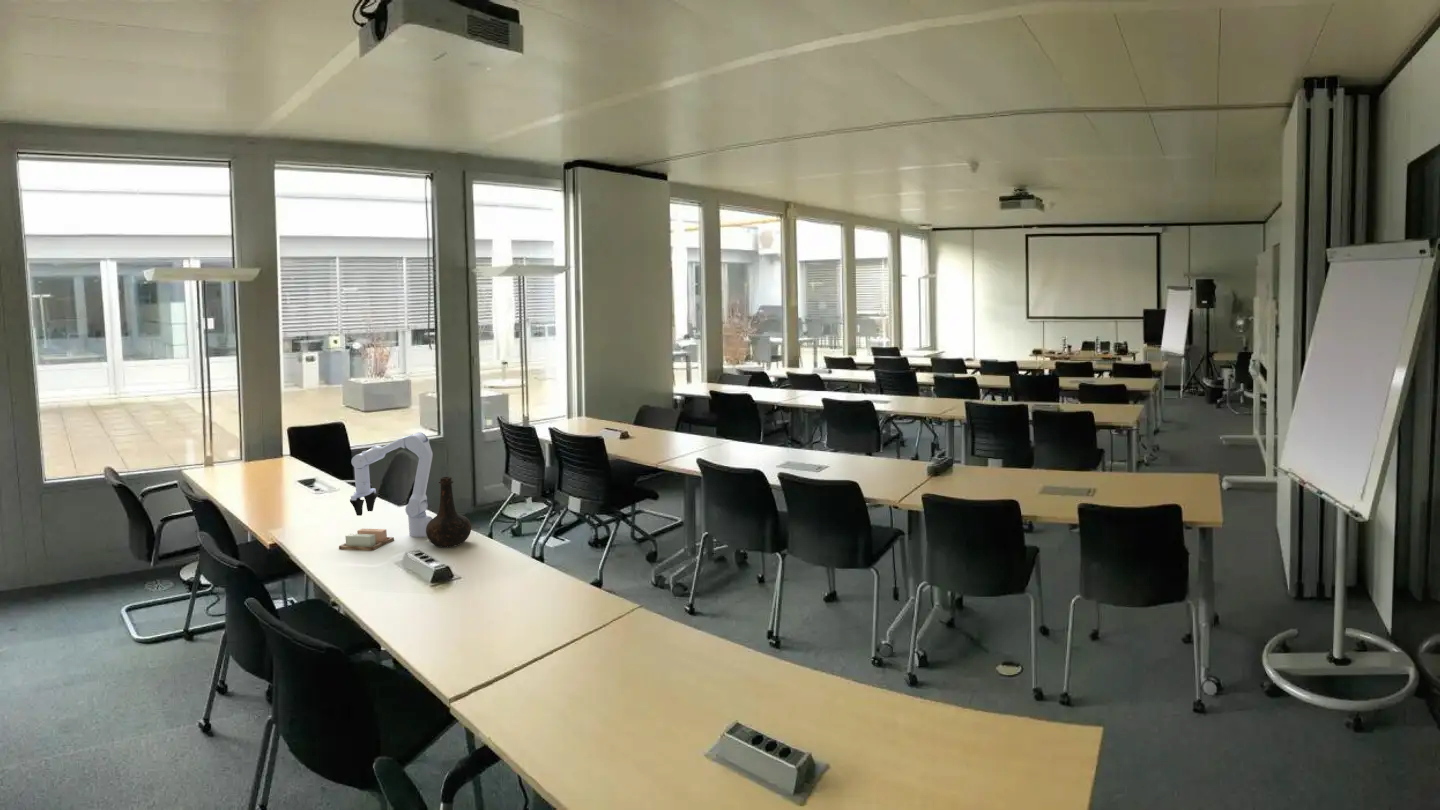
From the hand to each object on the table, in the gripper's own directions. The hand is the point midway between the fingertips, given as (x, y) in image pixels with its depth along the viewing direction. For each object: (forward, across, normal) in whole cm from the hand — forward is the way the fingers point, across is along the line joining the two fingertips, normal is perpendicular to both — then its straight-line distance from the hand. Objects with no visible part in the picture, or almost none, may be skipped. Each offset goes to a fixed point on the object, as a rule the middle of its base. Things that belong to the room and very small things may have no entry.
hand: (364, 513), depth 362 cm
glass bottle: (+11, +6, +42) cm, 44 cm away
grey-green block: (+10, +17, +9) cm, 21 cm away
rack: (+10, +13, +9) cm, 19 cm away
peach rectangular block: (+10, +9, +9) cm, 16 cm away
